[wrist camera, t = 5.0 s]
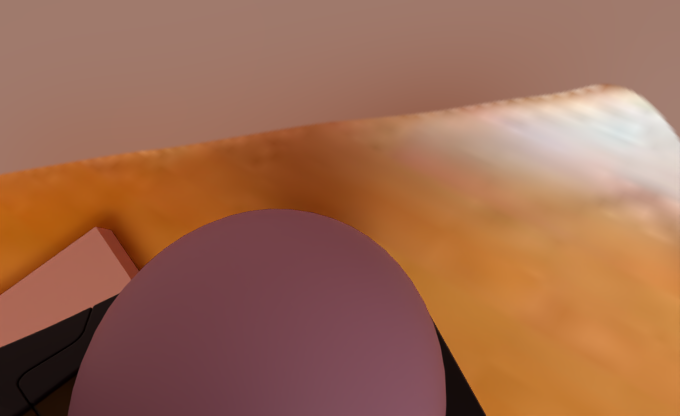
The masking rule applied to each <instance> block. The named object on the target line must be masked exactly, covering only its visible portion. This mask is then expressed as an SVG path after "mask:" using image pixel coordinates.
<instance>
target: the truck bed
mask: <svg viewBox="0 0 680 416" xmlns="http://www.w3.org/2000/svg"><path fill="white" fill-rule="evenodd" d="M138 272H139V271H138V269H137V268H136V266H135V265H134V263H133V262H132V260H131V259H130V257H129V256H128V254H127V253H126V251H125V250H124V249H123V247H122V246H121V244H120V243H119V241H118V240H117V238H116V237H115V235H114V234H113V232H112V231H111V230H109V229H104V228H99V227H94V228H93V229H92V230H90V231H89V232H88V233H86V234H85V235H83V236H82V237H81V238H79V239H78V240H76V241H75V242H74V243H72V244H71V245H69V246H68V247H67V248H65V249H64V250H62V251H61V252H60V253H58V254H57V255H56V256H54V257H53V258H51V259H50V260H49V261H47V262H46V263H44V264H43V265H42V266H40V267H39V268H37V269H36V270H35V271H33V272H32V273H30V274H29V275H28V276H26V277H25V278H24V279H22V280H21V281H19V282H18V283H17V284H15V285H14V286H12V287H11V288H10V289H8V290H7V291H5V292H4V293H3V294H1V295H0V347H2V346H4V345H7V344H9V343H12V342H14V341H16V340H19V339H21V338H23V337H26V336H28V335H31V334H33V333H35V332H38V331H40V330H42V329H45V328H47V327H49V326H51V325H53V324H56V323H58V322H60V321H62V320H64V319H66V318H69V317H71V316H73V315H75V314H77V313H79V312H81V311H83V310H85V309H87V308H90V307H91V308H93V306H94V305H96V304H98V303H100V302H102V301H104V300H106V299H108V298H110V297H113V296H115V295H117V294H119V293H120V292H121V291H122V290H123V288H124V287H125V286H126V285H127V284H128V283H129V282H130V281H131V280H132V279H133V278H134V276H135V275H136V274H137V273H138Z"/></svg>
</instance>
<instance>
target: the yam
mask: <svg viewBox="0 0 680 416" xmlns="http://www.w3.org/2000/svg"><path fill="white" fill-rule="evenodd" d="M68 416H446V385H445V370H444V364H443V359H442V353H441V347H440V344H439V340H438V337H437V334H436V330H435V327H434V324H433V321H432V319H431V317H430V315H429V312H428V310H427V308H426V305H425V303H424V301H423V300H422V298H421V296H420V294H419V293H418V291H417V289H416V288H415V286H414V284H413V282H412V281H411V280H410V278H409V277H408V276H407V274H406V273H405V272H404V270H403V269H402V268H401V267H400V265H399V264H398V263H397V262H396V261H395V260H394V259H393V258H392V257H391V256H390V255H389V254H388V253H387V252H386V251H385V250H384V249H383V248H382V247H381V246H379V245H378V244H377V243H376V242H374V241H373V240H372V239H370V238H369V237H368V236H366V235H365V234H363V233H361V232H360V231H358V230H356V229H355V228H353V227H351V226H349V225H347V224H344V223H342V222H340V221H338V220H335V219H333V218H330V217H326V216H323V215H319V214H316V213H312V212H305V211H298V210H292V209H265V210H255V211H248V212H244V213H240V214H235V215H231V216H228V217H225V218H222V219H220V220H217V221H214V222H212V223H209V224H207V225H204V226H202V227H200V228H198V229H196V230H194V231H192V232H190V233H188V234H186V235H184V236H183V237H181V238H180V239H178V240H177V241H175V242H174V243H172V244H171V245H169V246H168V247H166V248H165V249H164V250H162V251H161V252H160V253H159V254H158V255H157V256H155V257H154V258H153V259H152V260H151V261H150V262H148V263H147V264H146V265H145V266H144V267H143V268H142V269H141V270H140V271H139V272H138V273H137V274H136V275H135V276H134V278H133V279H132V280H131V281H130V282H129V283H128V284H127V285H126V286H125V287H124V288H123V290H122V291H121V292H120V294H119V295H118V296H117V298H116V299H115V300H114V302H113V303H112V304H111V306H110V307H109V308H108V310H107V312H106V314H105V315H104V317H103V319H102V320H101V322H100V324H99V326H98V327H97V329H96V331H95V333H94V335H93V338H92V340H91V342H90V344H89V347H88V349H87V351H86V353H85V356H84V358H83V360H82V362H81V365H80V368H79V371H78V374H77V378H76V381H75V384H74V387H73V391H72V396H71V401H70V406H69V411H68Z"/></svg>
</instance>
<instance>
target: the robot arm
mask: <svg viewBox="0 0 680 416" xmlns="http://www.w3.org/2000/svg"><path fill="white" fill-rule="evenodd" d="M119 294H120V293H119ZM119 294H117V295H115V296H113V297H110V298H108V299H106V300H104V301H102V302H100V303H98V304H96V305H94V306H93V308H91V307H90V308H87V309H85V310H83V311H81V312H79V313H77V314H75V315H73V316H71V317H69V318H66V319H64V320H62V321H60V322H58V323H56V324H53V325H51V326H49V327H47V328H45V329H42V330H40V331H38V332H35V333H33V334H31V335H28V336H26V337H23V338H21V339H19V340H16V341H14V342H12V343H9V344H7V345H4V346H2V347H0V416H68V411H69V406H70V401H71V396H72V391H73V387H74V384H75V381H76V378H77V374H78V371H79V368H80V365H81V362H82V360H83V358H84V356H85V353H86V351H87V349H88V347H89V344H90V342H91V340H92V338H93V335H94V333H95V331H96V329H97V327H98V326H99V324H100V322H101V320H102V319H103V317H104V315H105V314H106V312H107V310H108V308H109V307H110V306H111V304H112V303H113V302H114V300H115V299H116V298H117V296H118V295H119ZM429 315H430V314H429ZM430 317H431V316H430ZM431 319H432V318H431ZM432 321H433V320H432ZM433 324H434V327H435V330H436V334H437V337H438V340H439V344H440V347H441V353H442V359H443V364H444V370H445V385H446V416H486V414H485V413H484V411H483V409H482V407H481V405H480V404H479V402H478V400H477V398H476V396H475V395H474V393H473V391H472V389H471V388H470V386H469V384H468V382H467V380H466V379H465V377H464V375H463V373H462V371H461V370H460V368H459V366H458V364H457V362H456V361H455V359H454V357H453V355H452V354H451V352H450V350H449V348H448V346H447V345H446V343H445V341H444V339H443V337H442V336H441V334H440V332H439V330H438V328H437V327H436V325H435V323H434V321H433Z"/></svg>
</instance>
